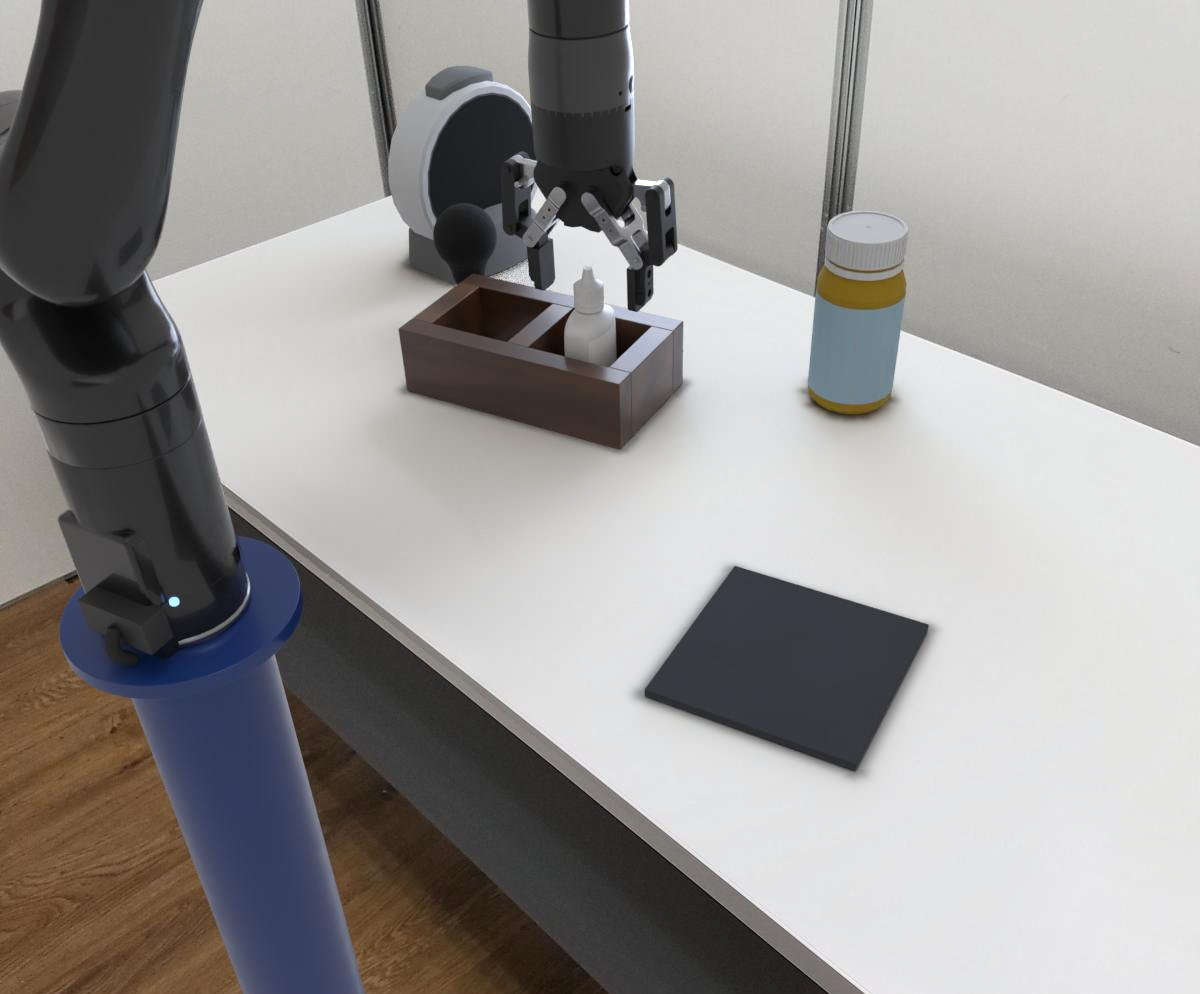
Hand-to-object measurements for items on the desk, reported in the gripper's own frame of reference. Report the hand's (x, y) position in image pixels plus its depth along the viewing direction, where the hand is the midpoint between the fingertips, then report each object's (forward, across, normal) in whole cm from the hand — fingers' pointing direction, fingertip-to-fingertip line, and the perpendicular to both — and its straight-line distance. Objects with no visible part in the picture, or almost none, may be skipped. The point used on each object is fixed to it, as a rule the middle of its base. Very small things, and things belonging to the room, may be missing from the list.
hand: (591, 296), depth 101 cm
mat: (+10, +27, -23) cm, 37 cm away
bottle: (+10, +19, +10) cm, 24 cm away
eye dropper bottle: (+10, 0, 0) cm, 10 cm away
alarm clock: (+10, -25, +20) cm, 33 cm away
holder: (+10, -5, 0) cm, 11 cm away
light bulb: (+10, -19, +10) cm, 23 cm away
